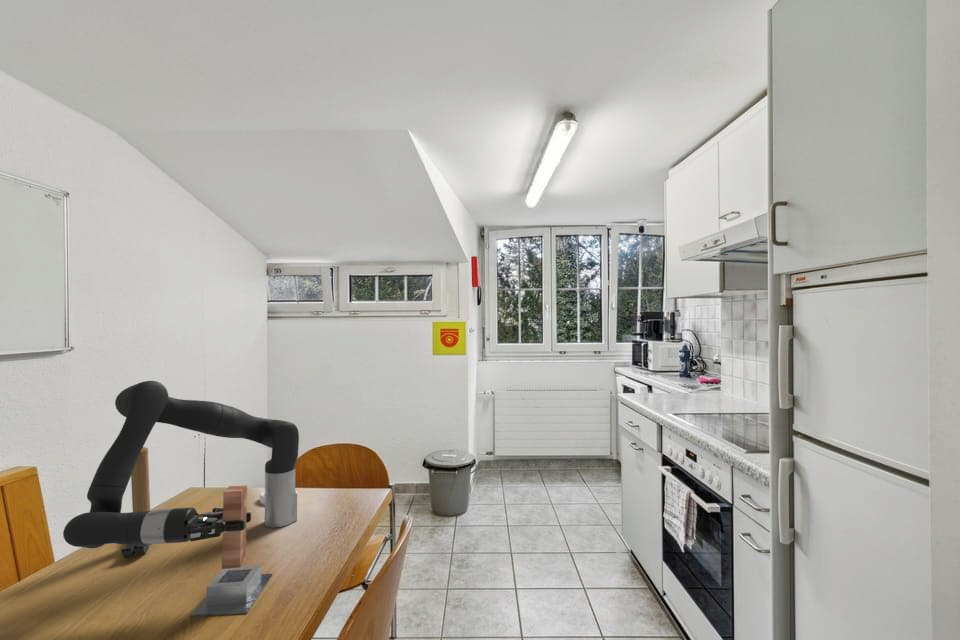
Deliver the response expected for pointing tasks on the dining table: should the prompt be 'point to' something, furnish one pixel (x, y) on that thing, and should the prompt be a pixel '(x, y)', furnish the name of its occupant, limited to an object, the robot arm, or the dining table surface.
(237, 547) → the square peg
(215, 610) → the socket base
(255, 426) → the robot arm
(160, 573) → the dining table surface
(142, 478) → the hammer
